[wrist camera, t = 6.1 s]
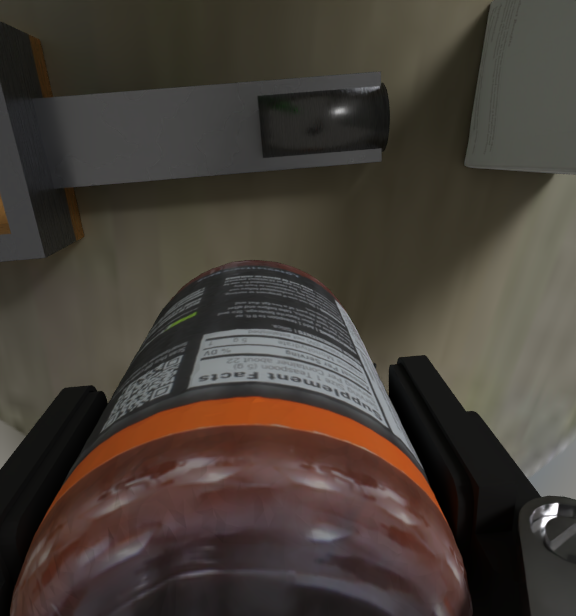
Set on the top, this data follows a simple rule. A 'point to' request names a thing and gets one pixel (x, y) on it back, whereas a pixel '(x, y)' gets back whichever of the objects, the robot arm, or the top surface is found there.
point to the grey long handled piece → (161, 137)
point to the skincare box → (526, 89)
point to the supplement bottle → (246, 473)
